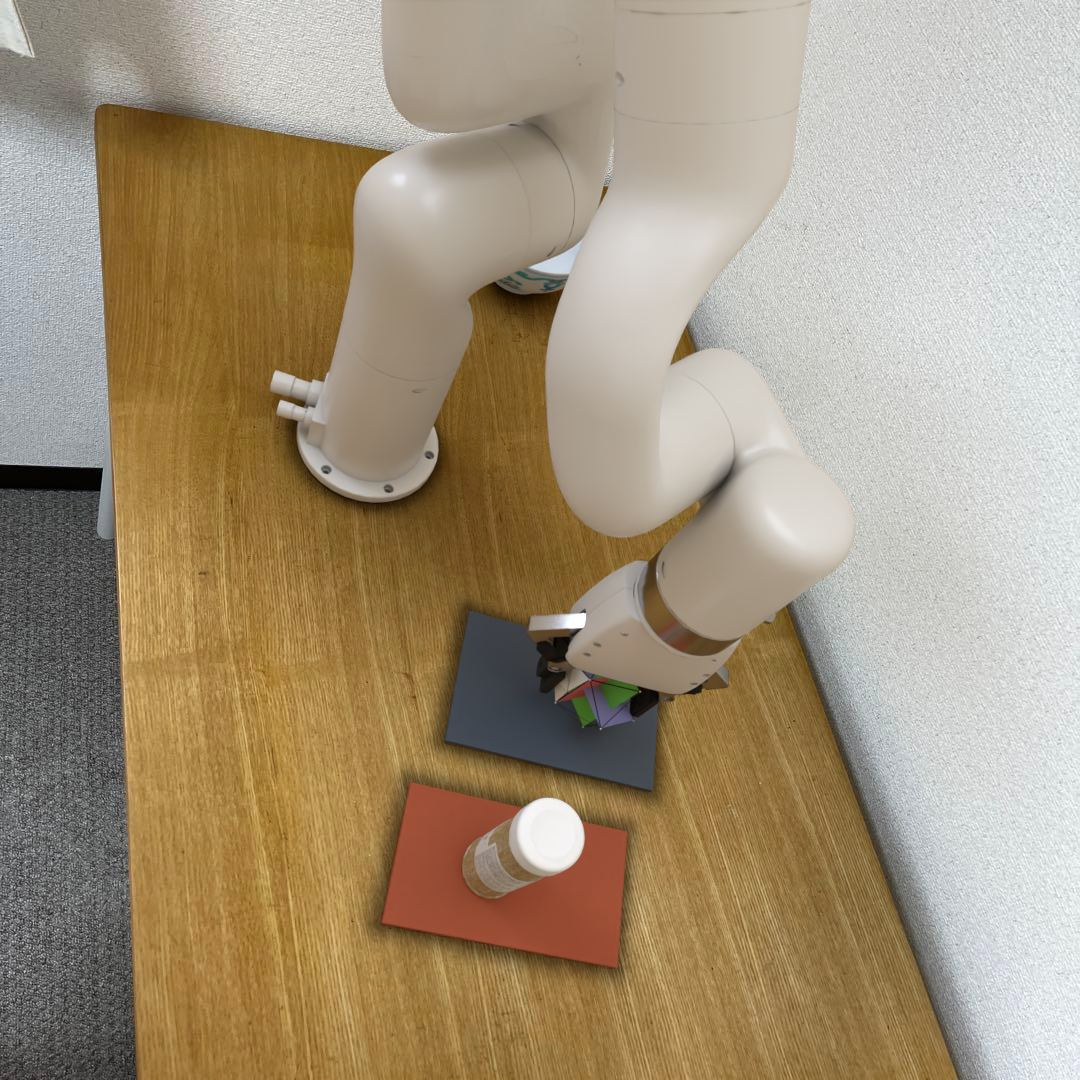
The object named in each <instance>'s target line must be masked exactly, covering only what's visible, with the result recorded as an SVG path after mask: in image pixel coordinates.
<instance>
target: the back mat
mask: <svg viewBox="0 0 1080 1080" xmlns="http://www.w3.org/2000/svg"><path fill="white" fill-rule="evenodd" d="M526 632H527V626H526V625H523V624H519V623H516V622H512V621H509V620H506V619H505V620H504V619H501V618H498V617H494V616H491V615H487V614H483V613H479V612H477V611H473V610H469V612H468V613H467V617H466V623H465V630H464V634H463V639H462V645H461V650H460V654H459V660H458V664H457V670H456V676H455V681H454V686H453V691H452V695H451V696H452V697H451V701H450V707H449V713H448V717H447V723H446V729H445V733H444V738H443V742H444V743H445V744H450V745H454V746H457V747H462V748H465V749H470V750H474V751H478V752H483V753H486V754H490V755H494V756H498V757H503V758H507V759H510V760H515V761H520V762H524V763H528V764H531V765H535V766H541V767H544V768H549V769H552V770H557V771H560V772H565V773H569V774H573V775H577V776H581V777H585V778H590V779H594V780H598V781H601V782H606V783H610V784H614V785H617V786H623V787H627V788H631V789H634V790H639V791H643V792H647V793H651V792H653V791H654V779H655V764H656V763H655V762H656V751H657V749H656V748H657V747H656V746H657V734H658V733H657V732H658V716H659V715H658V714H659V703H658V704H657V705H655V706H654V707H652V708H651V709H650V710H648V711H647V712H645V713H644V714H643V715H641V716H640V717H638V718H637V717H633V716H632V718H633V719H634V722H633V721H630V722H626V723H622V724H618V725H615V726H611V727H607V728H603V729H601V730H600V726H599V725H596V724H598V722H597V719H595V720H593V721H592V722H590V723H588V724H587V725H585V726H586V727H584V728H583V727H582V724H581V721H580V719H579V717H578V716H577V715H578V714H577V712H576V710H575V707H574V705H573V703H572V701H571V699H570V700H565V701H560V702H557V703H558V704H559V705H558V704H555V689H553V690H551V691H550V692H549V693H547V694H545V693H541V692H540V691H539V689H540V682H541V677H537V676H536V670H537V664H538V661H539V659H540V657H541V656H542V655H541V654H540V653H539V652H538V651H537V650H536V647H537V645H536V644H535V643H533V642H532V640H531V639H530V637H529V636H528V635H527V633H526ZM569 645H570V644H569ZM566 694H568V692H567V693H566ZM566 694H565V695H566ZM565 695H564V696H565ZM562 697H563V696H562ZM562 697H561V698H562ZM629 701H630V698H629V699H627V700H626V701H625V703H626V704H627V703H628V702H629ZM560 705H561V706H560ZM562 706H563V707H562ZM627 707H628V709H629V710H630V702H629V703H628V704H627ZM562 708H563V709H564V710H565V711H564V710H563V709H562ZM565 708H566V709H565ZM567 709H568V710H567ZM569 710H570V711H571V712H570V711H569ZM572 712H573V713H572ZM574 713H575V714H574ZM569 714H570V715H571V716H572V717H571V716H570V715H569ZM577 721H578V722H579V723H580V724H579V723H578V722H577ZM591 723H592V724H591ZM593 724H594V726H588V725H593ZM596 726H597V727H596ZM589 727H591V728H589ZM598 727H599V729H597V728H598Z"/></svg>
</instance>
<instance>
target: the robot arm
mask: <svg viewBox="0 0 1080 1080" xmlns="http://www.w3.org/2000/svg"><path fill="white" fill-rule="evenodd" d="M811 4H812V0H381V12H380V13H381V15H380V17H381V19H380V20H381V22H380V23H381V24H380V25H381V26H380V27H381V28H380V30H381V31H380V33H381V35H380V37H381V41H380V43H381V61H382V62H381V63H382V70H383V77H384V82H385V85H386V90H387V91H388V94H389V97H390V99H391V102H392V104H393V105H394V107H395V109H396V110H397V112H398V113H399V114H400V115H401V116H402V117H403V118H404V119H405V120H406V122H408V123H410V124H411V125H413V126H415V128H416V127H417V128H419V129H421V130H424V131H426V132H429V133H436V134H447V135H445V136H441V137H437V138H434V139H430V140H425V141H421V142H419V143H415V144H412V145H408V146H406V147H404V148H401V149H399V150H396V151H394V152H392V153H390V154H389V155H386V156H385V157H383V158H381V159H380V160H379V161H377V162H376V163H375V164H374V165H372V166H371V167H369V169H368V170H367V171H366V173H365V174H364V175H363V176H362V177H361V180H360V181H359V183H358V185H357V188H356V190H355V194H354V200H353V211H352V221H353V224H352V225H353V227H352V228H353V257H352V269H351V276H350V282H349V287H348V292H347V296H346V300H345V304H344V309H343V313H342V318H341V323H340V327H339V331H338V335H337V340H336V343H335V347H334V353H333V355H332V359H331V364H330V367H329V371H328V372H327V373H326V376H325V379H324V380H323V381H320V380H317V379H315V378H312V381H307V380H304V379H301V378H298V377H297V376H295V375H292V374H290V373H286V372H283V371H280V370H277V369H276V370H275V371H274V373H273V374H272V378H271V382H270V384H269V392H271V393H274V394H277V395H280V396H282V397H286V398H288V399H290V398H292V399H295V400H299V401H302V402H305V403H304V406H303V407H302V406H300V405H296V404H295V403H292V402H290V401H287V400H283V399H280V400H279V403H278V405H277V409H276V413H275V416H277V417H281V418H284V419H287V420H293V421H297V426H296V445H297V449H298V452H299V454H300V457H301V459H302V462H303V463H304V465H305V466H306V468H307V469H308V470H309V472H310V474H311V475H313V476H314V478H315V479H317V480H318V481H319V482H320V483H321V484H322V485H324V486H325V487H326V488H328V489H329V490H331V491H333V492H335V493H336V494H338V495H341V496H343V497H345V498H348V499H352V500H354V501H359V502H366V503H372V504H373V503H388V502H393V501H398V500H401V499H403V498H406V497H409V496H410V495H412V494H413V493H415V492H416V491H418V490H419V489H421V487H423V486H424V484H425V483H426V482H427V481H428V480H429V479H430V476H431V475H432V473H433V471H434V469H435V466H436V464H437V461H438V457H439V450H440V449H439V439H438V434H437V430H436V428H435V426H434V425H435V423H436V421H437V418H438V416H439V413H440V411H441V409H442V407H443V405H444V402H445V400H446V397H447V395H448V392H450V391H449V390H450V389H451V386H452V383H454V382H453V381H454V379H455V377H456V375H457V372H458V370H459V368H460V365H461V363H462V360H463V358H464V355H465V353H466V351H467V349H468V346H469V344H470V341H471V338H472V334H473V330H474V314H473V309H472V306H471V303H470V301H469V299H470V298H471V297H472V296H473V295H474V294H475V293H477V292H478V291H479V290H481V289H482V288H484V287H486V286H488V285H490V284H492V283H495V281H497V280H500V279H502V278H505V277H507V276H509V275H511V274H513V273H515V272H517V271H520V270H523V269H525V268H528V267H530V266H533V265H536V264H538V263H541V262H543V261H546V260H549V259H551V258H553V257H556V256H558V255H560V254H562V253H564V252H566V251H568V250H569V249H571V248H573V247H574V246H575V245H576V244H578V243H579V242H580V241H581V240H582V239H583V237H584V239H583V241H582V243H581V246H580V248H579V251H578V253H577V255H576V258H575V260H574V263H573V266H572V269H571V271H570V274H569V277H568V279H567V282H566V285H565V287H564V288H563V289H562V293H561V296H560V298H559V301H558V303H557V307H556V310H555V313H554V316H553V319H552V323H551V327H550V331H549V334H548V335H549V336H548V340H547V341H548V342H547V347H546V354H545V370H544V371H545V372H544V375H545V376H544V377H545V404H546V405H545V407H546V423H547V424H546V425H547V426H546V427H547V437H548V438H547V439H548V446H549V447H548V448H549V454H550V461H551V464H552V465H551V466H552V469H553V473H554V478H555V480H556V483H557V486H558V488H559V491H560V493H561V495H562V497H563V499H564V501H565V503H566V504H567V506H568V507H569V509H570V510H571V512H572V513H573V514H574V516H576V517H577V518H578V519H579V521H581V522H582V523H583V524H584V525H585V526H586V527H588V528H590V529H591V530H593V532H596V533H599V534H601V535H603V536H607V537H612V538H617V539H618V538H619V539H621V538H623V539H624V538H633V537H637V536H641V535H644V534H646V533H649V532H651V531H653V530H655V529H657V528H659V527H660V526H662V525H663V524H665V523H667V522H668V521H670V520H672V519H673V518H675V517H676V516H678V515H680V514H681V513H682V512H684V511H685V510H687V509H688V508H689V507H691V506H693V505H694V504H695V503H697V502H699V508H698V510H697V511H696V513H695V514H694V515H693V516H692V517H691V518H690V519H689V520H688V521H687V522H686V523H685V524H684V525H683V526H682V527H681V528H680V529H679V531H677V532H676V533H675V534H674V535H673V536H672V537H671V538H670V539H669V541H668V542H666V543H665V544H664V545H663V546H662V547H661V548H660V549H659V550H658V552H656V553H655V555H654V556H652V558H650V560H649V561H646V560H634V561H632V562H629V563H627V564H625V565H623V566H621V567H619V568H618V569H616V570H614V571H613V572H611V573H610V574H608V575H606V576H605V577H604V578H603V579H601V580H600V581H598V582H597V583H596V584H595V585H593V586H592V587H591V588H590V589H588V590H587V591H586V592H585V593H584V594H583V595H582V596H581V597H580V598H579V599H578V600H576V602H575V603H574V604H573V605H572V607H571V608H570V612H569V613H558V614H557V613H555V614H537V615H529V616H528V619H527V624H526V625H527V632H526V633H527V635H528V636H529V637H530V639H531V640H532V642H533V643H535V644H536V645H537V647H536V650H537V651H538V652H539V653H540V654H541V655H542V656H541V657H540V659H539V661H538V664H537V670H536V676H537V677H541V682H540V689H539V691H540V692H541V693H545V694H547V693H549V692H550V691H551V690H553V689H554V688H555V687H556V686H557V685H558V684H559V683H560V682H561V681H562V680H563V679H564V678H565V675H566V671H567V670H571V669H575V668H577V669H580V670H583V671H586V672H589V673H592V674H596V675H599V676H603V677H607V678H610V679H614V680H618V681H621V682H625V683H629V684H632V685H636V686H638V688H639V690H640V691H641V693H640V694H639V693H638V694H637V695H636V694H635V695H636V696H635V695H634V696H635V697H634V696H632V697H631V698H630V700H631V699H632V698H633V697H634V698H633V699H632V700H631V701H630V710H629V712H630V714H631V716H633V717H634V715H635V717H637V718H638V717H640V716H641V715H643V714H644V713H645V712H647V711H648V710H650V709H651V708H652V707H654V706H655V705H657V704H658V705H659V702H660V701H661V702H664V703H672V702H675V700H676V699H675V697H676V696H684V695H693V696H696V695H698V694H701V693H702V692H703V690H705V691H709V690H710V691H712V690H722V689H728V688H729V687H730V670H729V669H728V668H727V667H726V666H725V665H724V664H726V662H727V661H728V660H729V659H730V658H731V656H732V655H733V653H734V652H735V651H736V649H737V647H738V646H739V644H740V643H741V641H742V639H743V637H745V636H747V634H749V633H750V632H752V630H754V629H756V628H757V627H758V626H760V625H761V624H766V625H771V624H772V623H773V622H774V621H775V619H776V616H777V613H778V612H779V611H781V610H782V609H783V608H785V607H787V606H788V605H789V604H790V603H792V602H793V601H794V600H797V598H799V597H800V596H801V595H803V594H804V593H806V592H807V591H808V590H810V589H811V588H812V587H814V586H815V585H817V584H818V583H820V582H821V581H823V580H824V579H825V578H826V577H828V576H829V575H830V574H832V573H833V572H834V571H835V570H836V569H838V568H839V567H840V566H841V565H842V564H843V563H844V561H845V560H846V558H847V557H848V556H849V554H850V552H851V550H852V547H853V544H854V541H855V535H856V520H855V515H854V512H853V507H852V505H851V502H850V500H849V499H848V496H847V495H846V493H845V492H844V490H843V489H842V487H841V486H840V485H839V483H838V482H837V481H836V480H835V478H833V477H832V476H831V474H829V473H828V472H827V471H826V470H825V469H823V468H822V467H821V466H819V465H818V464H816V463H815V462H813V461H812V460H811V459H810V457H809V456H808V454H807V452H806V451H805V448H804V447H803V446H802V444H801V442H800V440H799V439H798V437H797V435H796V434H795V432H794V430H793V428H792V426H791V424H790V422H789V421H788V419H787V416H786V414H785V412H784V411H783V410H782V408H781V405H780V404H779V402H778V400H777V398H776V397H775V394H774V392H773V391H772V389H771V388H770V386H769V385H768V383H767V381H766V380H765V378H764V377H763V375H762V374H761V373H760V371H758V369H757V368H756V367H755V366H754V365H753V364H752V363H751V362H750V361H749V360H748V359H747V358H745V357H743V355H741V354H739V353H737V352H736V351H733V350H731V349H727V348H721V347H712V348H705V349H702V350H699V351H696V352H693V353H690V354H689V355H687V356H685V357H683V358H680V359H679V360H678V361H675V362H674V363H672V361H673V357H674V354H675V351H676V349H677V347H678V344H679V342H680V340H681V338H682V335H683V333H684V331H685V329H686V327H687V325H688V323H689V321H690V320H691V318H692V316H693V314H694V312H695V311H696V309H697V308H698V306H699V304H700V303H701V301H702V299H703V298H704V296H705V295H706V294H707V292H708V290H709V289H710V288H711V287H712V285H713V284H714V282H715V281H716V280H717V279H718V277H719V276H720V274H721V273H722V272H724V270H725V268H726V267H728V265H729V264H730V263H731V262H732V260H733V259H734V258H735V257H736V256H737V254H738V253H739V252H740V251H741V250H742V248H743V247H745V245H746V244H747V243H748V241H750V239H751V238H752V237H753V236H754V234H755V233H756V232H757V231H758V229H759V228H760V226H761V225H762V224H763V222H764V221H765V220H766V218H767V217H768V215H769V214H770V213H771V211H772V210H773V208H774V207H775V205H776V204H777V203H778V200H779V199H780V197H781V195H782V194H783V192H784V191H785V189H786V187H787V184H788V183H789V180H790V176H791V174H792V170H793V166H794V156H795V147H796V136H797V129H798V128H797V127H798V118H799V111H800V99H801V91H802V83H803V76H804V75H803V74H804V65H805V57H806V56H805V55H806V48H807V39H808V32H809V23H810V14H811V7H812V5H811ZM448 134H449V135H448ZM612 147H613V148H612ZM612 149H613V158H612V159H613V161H612V173H611V178H610V182H609V184H608V188H607V190H606V192H605V194H604V196H603V198H602V194H603V190H604V185H605V180H606V177H607V172H608V167H609V162H610V157H611V153H612ZM601 198H602V200H601ZM569 644H570V645H569ZM640 687H641V688H640ZM638 697H639V699H638ZM637 701H638V703H637ZM636 706H637V708H636ZM635 710H636V712H635Z"/></svg>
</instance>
